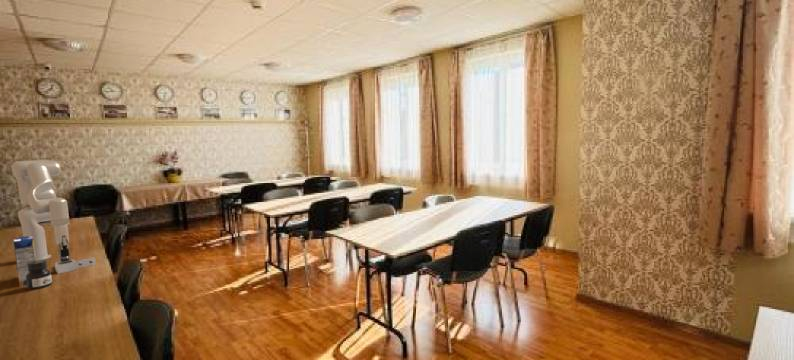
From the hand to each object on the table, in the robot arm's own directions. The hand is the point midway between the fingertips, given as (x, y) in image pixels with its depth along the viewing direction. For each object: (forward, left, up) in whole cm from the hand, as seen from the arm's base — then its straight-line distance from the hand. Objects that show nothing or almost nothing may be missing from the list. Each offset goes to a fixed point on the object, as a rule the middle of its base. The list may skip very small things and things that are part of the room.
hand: (64, 255), depth 212 cm
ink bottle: (+21, -13, -9) cm, 26 cm away
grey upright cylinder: (0, 0, -3) cm, 3 cm away
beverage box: (+7, -16, -9) cm, 19 cm away
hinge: (-5, +4, -8) cm, 11 cm away
